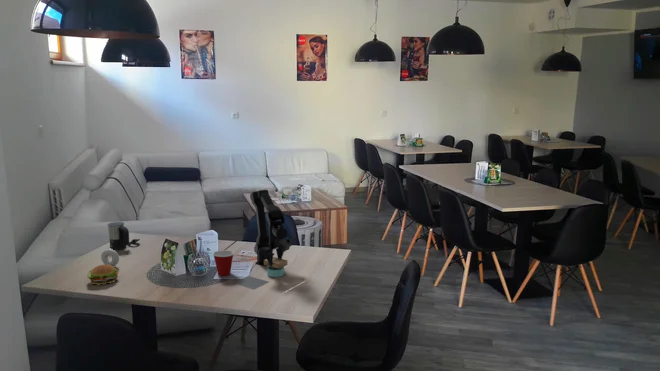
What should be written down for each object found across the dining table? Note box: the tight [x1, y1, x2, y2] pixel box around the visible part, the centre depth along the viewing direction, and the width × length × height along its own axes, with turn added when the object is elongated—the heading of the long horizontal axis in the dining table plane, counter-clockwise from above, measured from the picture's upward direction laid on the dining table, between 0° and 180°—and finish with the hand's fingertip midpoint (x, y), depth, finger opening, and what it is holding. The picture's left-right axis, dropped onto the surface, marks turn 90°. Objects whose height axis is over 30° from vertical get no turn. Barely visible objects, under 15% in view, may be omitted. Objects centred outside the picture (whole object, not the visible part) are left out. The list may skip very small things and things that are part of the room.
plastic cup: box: [212, 250, 235, 277], centre depth 250 cm, size 11×11×12 cm
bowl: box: [266, 266, 285, 278], centre depth 250 cm, size 8×8×4 cm
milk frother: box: [107, 221, 141, 250], centre depth 296 cm, size 14×16×15 cm
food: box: [87, 264, 119, 286], centre depth 243 cm, size 14×14×8 cm
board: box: [263, 256, 288, 269], centre depth 249 cm, size 10×6×2 cm, turn 56°
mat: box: [233, 275, 269, 290], centre depth 240 cm, size 14×11×1 cm
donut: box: [100, 248, 120, 267], centre depth 262 cm, size 10×4×10 cm, turn 78°
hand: (275, 263), depth 249 cm, fingers closed on board, 6 cm apart
